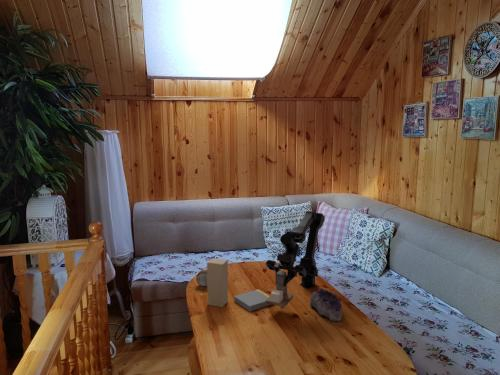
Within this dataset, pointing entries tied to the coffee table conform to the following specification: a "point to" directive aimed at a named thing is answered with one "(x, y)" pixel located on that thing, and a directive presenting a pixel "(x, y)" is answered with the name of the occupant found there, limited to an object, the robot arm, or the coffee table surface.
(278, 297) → the box
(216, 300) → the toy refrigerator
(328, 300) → the geode
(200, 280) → the tin
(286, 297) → the grey column with base
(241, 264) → the coffee table surface
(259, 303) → the dock
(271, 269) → the robot arm
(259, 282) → the coffee table surface
